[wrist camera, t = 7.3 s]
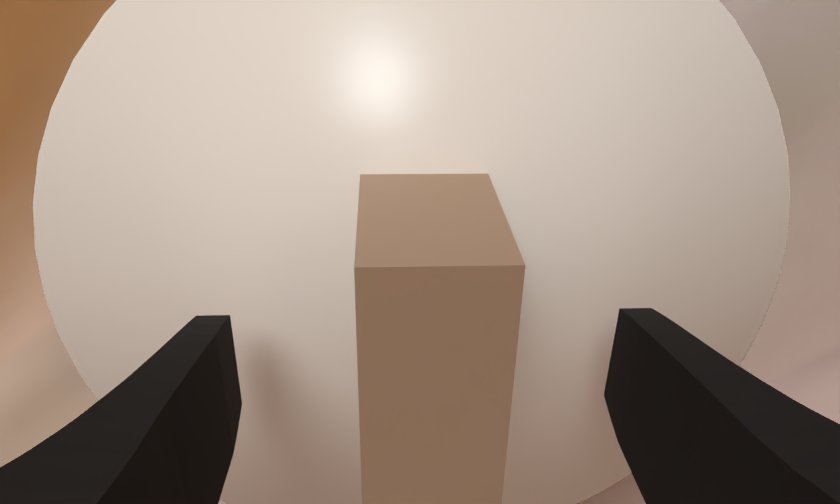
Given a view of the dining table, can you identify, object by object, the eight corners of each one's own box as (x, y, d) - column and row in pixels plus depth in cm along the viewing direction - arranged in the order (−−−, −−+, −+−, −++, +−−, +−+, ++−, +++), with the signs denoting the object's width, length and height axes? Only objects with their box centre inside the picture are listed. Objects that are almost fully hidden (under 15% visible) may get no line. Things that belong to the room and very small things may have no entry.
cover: (875, -123, 11) (1123, -136, 7) (693, 512, 18) (774, 670, 14) (-57, -142, 10) (-302, -167, 7) (125, 532, 17) (55, 705, 14)
